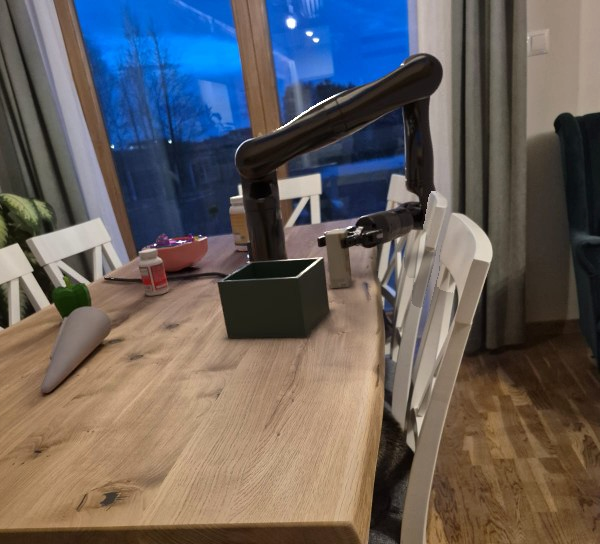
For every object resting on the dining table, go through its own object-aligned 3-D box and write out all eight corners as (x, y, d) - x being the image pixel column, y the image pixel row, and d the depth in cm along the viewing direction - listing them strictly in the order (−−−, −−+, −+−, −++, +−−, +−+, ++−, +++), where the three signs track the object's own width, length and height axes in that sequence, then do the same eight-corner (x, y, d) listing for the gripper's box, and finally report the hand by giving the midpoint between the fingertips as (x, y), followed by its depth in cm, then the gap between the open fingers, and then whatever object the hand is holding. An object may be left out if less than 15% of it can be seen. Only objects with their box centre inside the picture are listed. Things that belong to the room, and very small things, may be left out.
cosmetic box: (349, 287, 131) (343, 233, 126) (330, 289, 133) (324, 234, 127) (352, 280, 137) (347, 227, 132) (334, 281, 138) (328, 229, 133)
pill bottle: (171, 288, 154) (161, 246, 150) (167, 294, 149) (157, 251, 144) (148, 291, 155) (138, 250, 150) (143, 297, 149) (132, 254, 144)
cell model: (222, 265, 175) (215, 226, 171) (160, 280, 166) (151, 240, 161) (198, 259, 188) (191, 224, 184) (140, 273, 179) (131, 236, 174)
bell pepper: (93, 321, 134) (81, 278, 129) (57, 327, 133) (43, 284, 129) (99, 311, 141) (87, 271, 137) (64, 317, 140) (52, 276, 136)
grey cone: (86, 362, 92) (105, 303, 114) (30, 371, 91) (61, 309, 113) (99, 403, 96) (115, 339, 118) (45, 412, 95) (72, 345, 117)
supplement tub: (257, 252, 188) (248, 197, 181) (228, 252, 194) (219, 199, 187) (278, 243, 197) (271, 191, 190) (250, 244, 203) (242, 193, 196)
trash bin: (227, 338, 109) (217, 281, 104) (258, 312, 122) (250, 261, 118) (305, 337, 104) (298, 277, 99) (329, 310, 117) (323, 257, 112)
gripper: (354, 212, 142) (306, 225, 133) (401, 212, 132) (352, 226, 123) (357, 243, 146) (310, 258, 136) (402, 245, 135) (355, 262, 126)
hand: (330, 243), depth 129 cm, fingers closed on cosmetic box, 7 cm apart
